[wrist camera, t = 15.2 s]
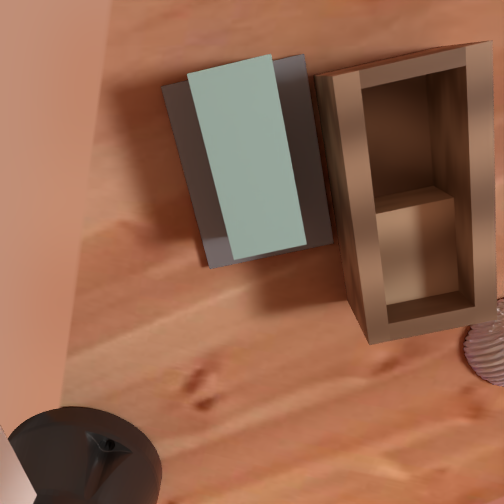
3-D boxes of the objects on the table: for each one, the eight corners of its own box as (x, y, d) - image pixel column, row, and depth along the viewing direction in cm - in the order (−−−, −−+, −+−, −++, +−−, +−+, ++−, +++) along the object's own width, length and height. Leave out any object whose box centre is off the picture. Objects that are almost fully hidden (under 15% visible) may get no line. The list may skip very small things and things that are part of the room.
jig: (454, 278, 39) (497, 319, 32) (347, 300, 39) (369, 345, 33) (441, 46, 32) (492, 40, 26) (313, 75, 32) (332, 76, 26)
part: (297, 221, 36) (306, 244, 31) (234, 235, 36) (234, 260, 31) (265, 56, 31) (271, 54, 27) (193, 73, 31) (186, 73, 27)
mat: (210, 266, 37) (209, 269, 37) (162, 86, 32) (160, 86, 32) (332, 240, 37) (333, 243, 36) (302, 54, 32) (304, 53, 31)
